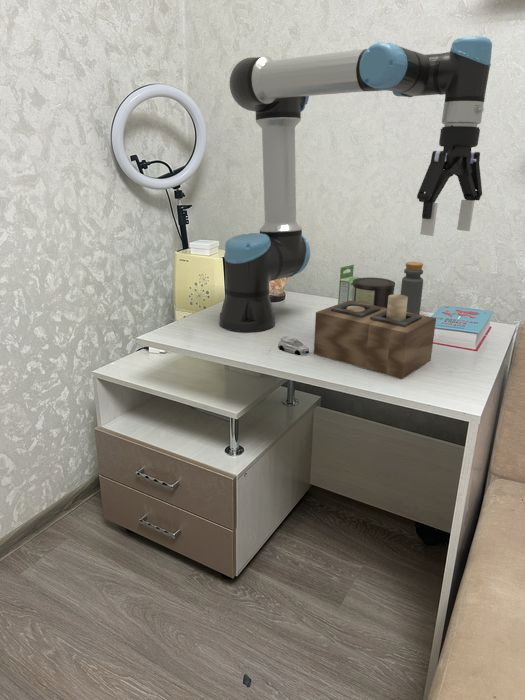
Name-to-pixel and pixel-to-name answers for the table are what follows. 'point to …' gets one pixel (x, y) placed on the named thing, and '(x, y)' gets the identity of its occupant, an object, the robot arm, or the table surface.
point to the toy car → (293, 346)
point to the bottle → (413, 286)
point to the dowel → (397, 307)
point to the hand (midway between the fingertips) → (445, 232)
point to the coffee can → (372, 291)
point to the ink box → (346, 284)
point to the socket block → (374, 338)
